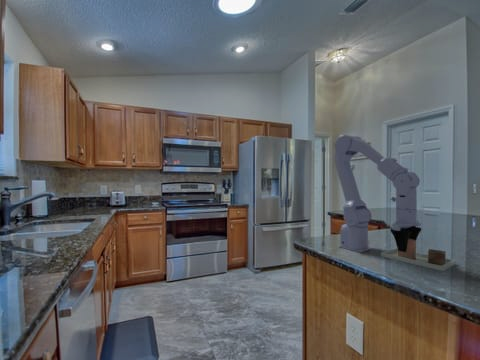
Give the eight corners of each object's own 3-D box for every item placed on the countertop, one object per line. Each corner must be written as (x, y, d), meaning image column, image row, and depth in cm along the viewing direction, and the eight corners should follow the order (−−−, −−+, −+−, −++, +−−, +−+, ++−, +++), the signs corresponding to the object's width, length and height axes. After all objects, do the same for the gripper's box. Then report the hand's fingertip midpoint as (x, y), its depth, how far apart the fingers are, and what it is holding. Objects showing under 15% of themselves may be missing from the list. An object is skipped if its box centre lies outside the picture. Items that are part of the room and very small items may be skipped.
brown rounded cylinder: (395, 257, 86) (395, 239, 86) (401, 254, 89) (401, 237, 89) (412, 261, 82) (412, 242, 82) (418, 258, 85) (418, 240, 85)
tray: (380, 258, 87) (380, 252, 87) (395, 253, 93) (395, 248, 93) (443, 273, 73) (443, 266, 73) (455, 266, 79) (455, 260, 79)
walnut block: (428, 264, 78) (428, 251, 78) (429, 261, 81) (429, 249, 81) (444, 267, 76) (445, 254, 76) (445, 264, 79) (445, 251, 79)
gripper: (409, 211, 78) (409, 256, 78) (429, 208, 86) (429, 249, 86) (385, 209, 84) (385, 251, 84) (405, 206, 92) (405, 244, 92)
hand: (406, 249), depth 86 cm, fingers open, 5 cm apart
